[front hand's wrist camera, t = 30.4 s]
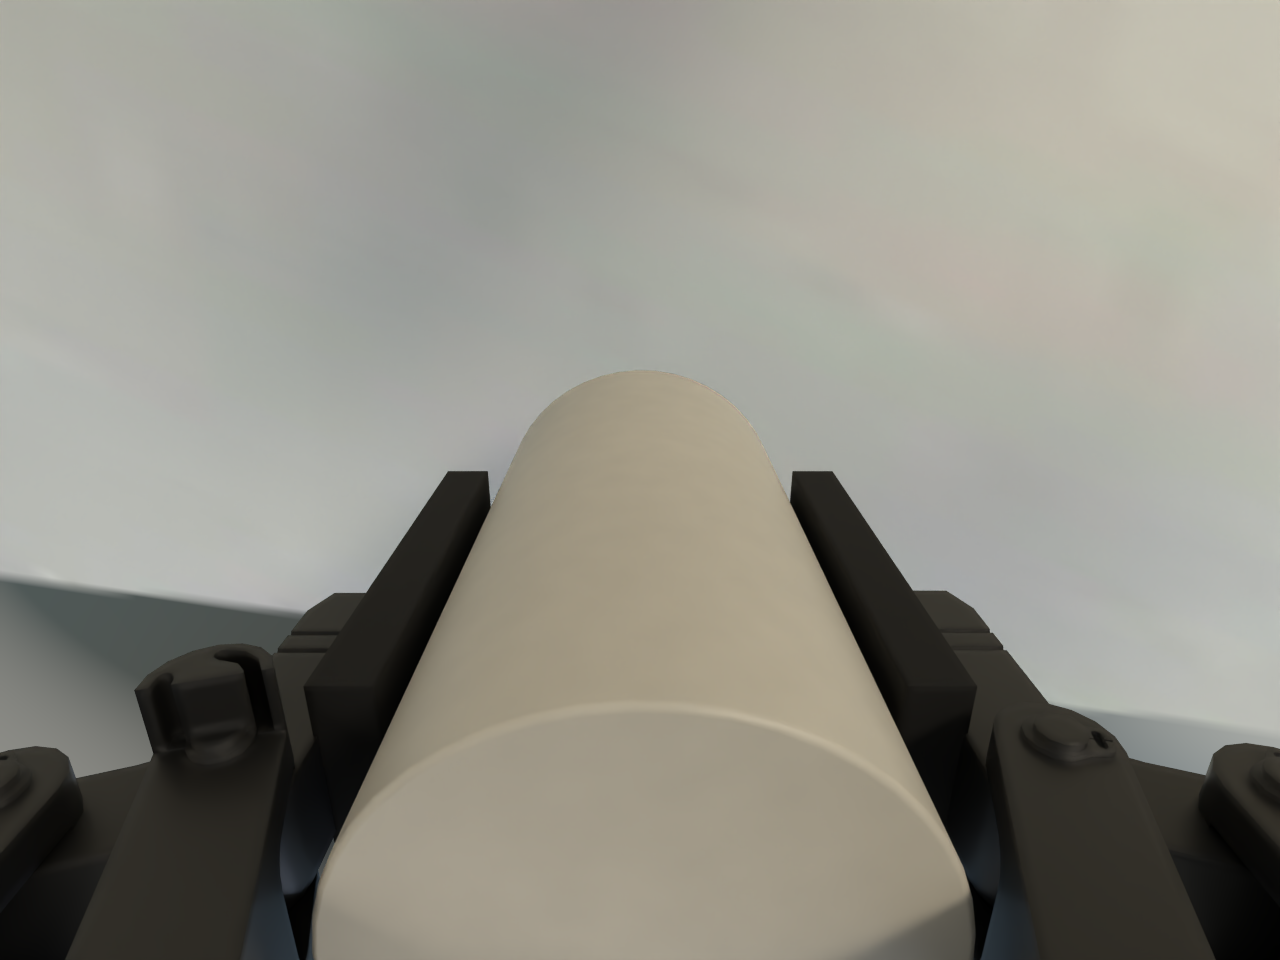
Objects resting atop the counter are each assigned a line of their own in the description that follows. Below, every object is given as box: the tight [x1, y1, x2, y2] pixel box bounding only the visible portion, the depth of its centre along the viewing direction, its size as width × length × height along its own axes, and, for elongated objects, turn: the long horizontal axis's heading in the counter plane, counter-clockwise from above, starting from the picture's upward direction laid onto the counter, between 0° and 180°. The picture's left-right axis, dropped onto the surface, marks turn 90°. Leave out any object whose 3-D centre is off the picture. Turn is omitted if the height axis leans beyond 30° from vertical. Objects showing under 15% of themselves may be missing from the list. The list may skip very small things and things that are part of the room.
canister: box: [312, 370, 976, 960], centre depth 11 cm, size 6×6×11 cm
